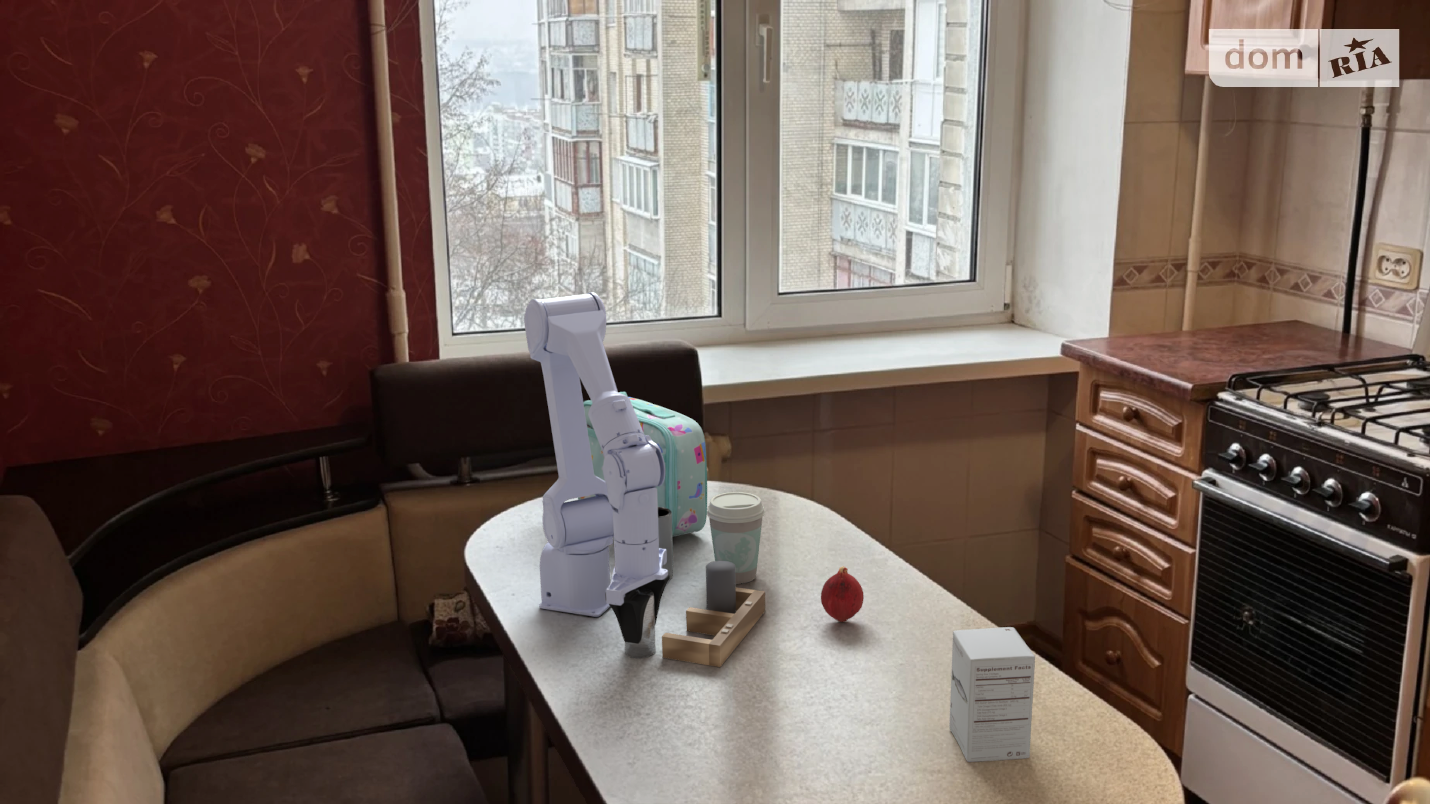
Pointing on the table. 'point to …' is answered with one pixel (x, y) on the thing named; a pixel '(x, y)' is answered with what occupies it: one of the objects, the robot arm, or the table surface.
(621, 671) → the table surface
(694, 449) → the lunch box
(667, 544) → the grey tubular piece
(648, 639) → the grey rod
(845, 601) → the onion
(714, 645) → the rack
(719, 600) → the dark grey cylinder
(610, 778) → the table surface
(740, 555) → the coffee cup
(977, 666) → the supplement box
